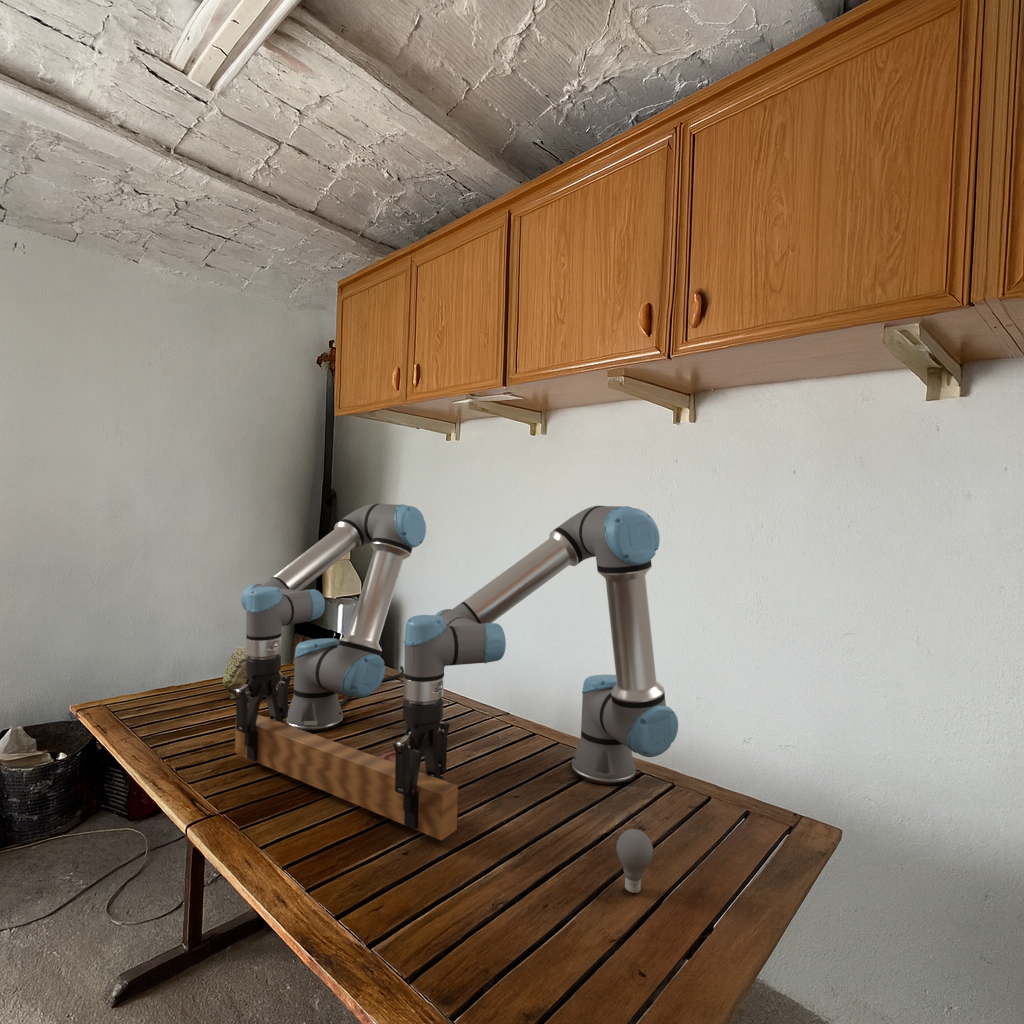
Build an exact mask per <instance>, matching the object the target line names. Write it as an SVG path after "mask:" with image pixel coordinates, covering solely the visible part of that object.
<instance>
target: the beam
mask: <svg viewBox="0 0 1024 1024" xmlns="http://www.w3.org/2000/svg"><path fill="white" fill-rule="evenodd" d="M254 731H256V732H258V742H257V760H256V761H254V762H255V763H257V764H259V765H262V766H265V767H267V768H269V769H271V770H273V771H276V772H278V773H281V774H283V775H285V776H287V777H290V778H292V779H294V780H296V781H300V782H301V783H304V784H306V785H308V786H312V787H313V788H316V789H318V790H320V791H323V792H325V793H327V794H331V795H333V796H335V797H337V798H340V799H341V800H344V801H347V802H349V803H352V804H353V805H356V806H359V807H361V808H364V809H366V810H368V811H370V812H373V813H375V814H378V815H379V816H383V817H384V818H387V819H390V820H392V821H394V822H396V823H399V824H402V825H403V826H405V825H404V817H405V810H404V809H403V797H404V795H403V794H400V793H398V792H395V763H393V762H390V761H387V760H385V759H382V758H379V757H378V756H376V755H374V754H370V753H367V752H365V751H361V750H359V749H356V748H354V747H351V746H348V745H345V744H342V743H339V742H336V741H334V740H332V739H329V738H325V737H322V736H320V735H317V734H314V733H313V732H306V731H303V730H300V729H298V728H295V727H292V726H289V725H286V723H284V722H283V723H281V722H278V721H275V720H272V719H270V717H267V716H263V715H260V714H258V716H257V721H256V725H255V730H254ZM234 734H235V735H234V736H235V739H234V754H236V755H238V756H241V757H243V758H245V759H248V758H247V746H245V744H244V742H245V733H243V732H240V731H238V730H236V727H235V733H234ZM248 760H249V759H248ZM409 787H410V786H409ZM416 792H417V793H419V805H418V828H417V829H414V830H416V831H418V832H420V833H422V834H425V835H427V836H430V837H431V838H434V839H437V840H439V841H443V840H445V839H446V838H448V837H449V836H450V835H452V834H453V833H455V832H456V831H457V830H458V805H459V803H458V802H459V785H457V784H455V783H451V782H450V781H446V780H444V779H443V780H441V779H438V778H435V777H432V776H429V775H427V774H426V773H424V772H421V771H419V775H418V781H417V787H416Z"/></svg>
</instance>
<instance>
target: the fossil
mask: <svg viewBox="0 0 1024 1024" xmlns="http://www.w3.org/2000/svg"><path fill="white" fill-rule="evenodd" d="M247 657H248V656H247V655H246V646H238V647H237V648H236V649H235V650H233V651H232V653H231V656H230V657H229V659H228V660H227V663H226V666H225V668H224V671H223V675H222V676H223V677H222V685H223V687H224V688H225V690H226V691H228V693H229V698H230V699H236V696H235V693H234V689H235V688H241V687H242V686H244V685H245V682H246V679H247V674H246V658H247ZM279 673H280V675H283V673H282V672H281V670H280V671H279ZM276 690H277V692H278V684H277V686H276ZM249 693H250V691H249V690H248V696H247V699H248V697H249ZM264 697H265V696H264ZM264 697H263V698H264ZM265 698H266V697H265Z"/></svg>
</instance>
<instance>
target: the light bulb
mask: <svg viewBox="0 0 1024 1024" xmlns="http://www.w3.org/2000/svg"><path fill="white" fill-rule="evenodd" d="M615 849H616V854H617V857H618V859H619V861H620V863H621V865H622V867H623V873H624V874H623V875H624V876H625V878H624V888H625V890H627V891H628V892H630V893H634V894H635V893H639V892H640V891H641V889H642V887H641V886H642V879H643V877H644V875H645V871H646V868H647V867H648V866H649V864H650V863H651V861H652V859H653V855H654V847H653V843H652V841H651V838H649V836H648V835H647V834H646V833H645V832H643V831H642V830H641V829H636V828H629V829H627V830H625V831H623V832H622V833H621V834H620V835H619V837H618V839H617V841H616V847H615Z"/></svg>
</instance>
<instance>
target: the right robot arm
mask: <svg viewBox="0 0 1024 1024" xmlns="http://www.w3.org/2000/svg"><path fill="white" fill-rule="evenodd" d="M548 536H549V537H548V538H547V540H546V541H545V540H544V542H543V543H541V544H540V545H539V546H537V547H536V548H534V549H533V550H531V551H530V552H529V553H528V554H526V555H524V556H523V557H522V558H521V559H519V560H518V561H517V562H515V563H514V564H512V565H511V566H510V567H508V568H507V569H505V570H504V571H503V572H502V573H500V574H499V575H498V576H496V577H495V578H493V579H492V580H490V581H489V582H488V583H486V584H485V585H484V586H483V587H481V588H480V589H478V590H477V591H476V592H474V593H472V595H470V596H468V597H467V598H466V599H465V600H463V601H461V603H459V604H457V605H456V606H454V607H453V608H446V609H442V610H439V611H438V612H437V613H436V614H418V615H413V616H411V617H409V618H407V620H406V622H405V629H404V630H405V631H404V640H403V645H404V648H403V649H404V651H403V652H404V659H403V660H404V666H403V668H404V673H403V686H402V687H403V689H402V691H403V692H402V695H403V698H404V700H403V701H402V719H403V721H404V722H405V725H406V727H405V731H404V734H403V735H404V736H403V737H402V738H401V739H400V740H398V739H395V740H394V741H393V748H394V751H395V752H396V760H395V792H398V793H400V794H403V795H404V797H403V809H404V810H405V817H404V825H403V826H406V827H408V828H410V829H412V830H415V829H417V828H418V805H419V793H417V792H416V787H417V781H418V775H419V772H420V768H421V762H422V758H423V760H424V764H425V765H424V766H425V774H427V775H429V776H432V777H435V778H438V779H441V780H444V776H442V775H445V774H446V773H447V762H448V761H447V759H448V758H447V756H448V734H449V730H450V723H449V722H444V721H442V719H443V718H444V700H443V697H444V677H445V667H448V666H449V667H450V666H451V667H452V666H461V665H475V664H488V663H492V662H498V661H500V660H501V659H502V658H503V657H504V656H505V653H506V648H507V639H506V634H505V631H504V629H503V627H502V626H501V625H500V624H499V623H496V621H497V620H498V619H500V617H502V616H503V615H505V614H506V613H508V612H509V611H510V610H512V608H515V606H517V605H518V604H520V603H521V602H523V600H525V599H526V598H527V597H529V596H530V595H531V594H532V593H534V592H535V591H536V590H538V589H540V588H541V587H543V585H545V584H546V583H548V581H550V580H552V578H555V576H557V575H558V574H559V573H561V572H562V571H563V570H565V569H566V568H567V567H570V566H571V567H576V566H578V565H579V564H580V563H581V562H583V561H586V560H587V559H590V558H595V562H596V571H597V573H598V574H599V575H601V577H603V578H604V579H605V588H606V595H607V596H606V597H607V607H608V615H609V624H610V634H611V640H612V641H611V643H612V651H613V661H614V669H615V674H593V675H590V676H587V677H586V678H585V679H584V680H583V684H582V690H581V694H582V699H581V700H582V701H581V721H580V722H581V723H580V724H581V725H580V738H579V741H578V744H577V746H576V749H575V751H574V754H573V757H572V761H571V771H572V772H573V774H574V775H575V776H577V777H578V778H580V780H581V779H582V780H583V781H585V782H588V783H592V784H597V785H604V786H621V785H625V784H628V783H630V782H632V781H634V779H635V778H636V775H637V766H636V762H635V760H634V756H633V753H635V754H638V755H640V756H642V757H645V758H654V757H657V756H660V755H662V754H664V753H666V751H667V750H668V749H670V747H671V746H672V743H674V741H675V740H676V738H677V735H678V732H679V719H678V716H677V714H676V712H675V711H674V710H673V709H672V708H671V707H670V706H667V702H666V692H665V688H664V686H663V685H662V684H661V683H659V682H658V681H657V675H656V674H657V673H656V664H655V655H654V647H653V644H654V643H653V637H652V636H653V635H652V626H651V617H650V607H649V598H648V596H649V595H648V587H647V576H646V575H647V574H648V573H649V571H650V570H651V569H652V559H653V558H654V557H655V556H656V552H657V551H658V550H659V547H660V539H661V538H660V531H659V528H658V524H657V522H655V520H654V518H653V517H652V516H651V515H650V514H649V513H647V512H646V511H644V510H642V509H640V508H636V507H632V506H629V505H627V506H626V505H625V506H624V505H623V506H622V505H621V506H619V505H593V506H590V507H587V508H585V509H583V510H580V511H579V512H577V513H576V514H574V515H572V516H571V517H570V518H568V519H566V520H565V521H564V522H563V523H561V524H560V525H558V526H557V527H555V528H554V529H553V530H552V531H550V532H549V535H548ZM409 786H410V787H409Z"/></svg>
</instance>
